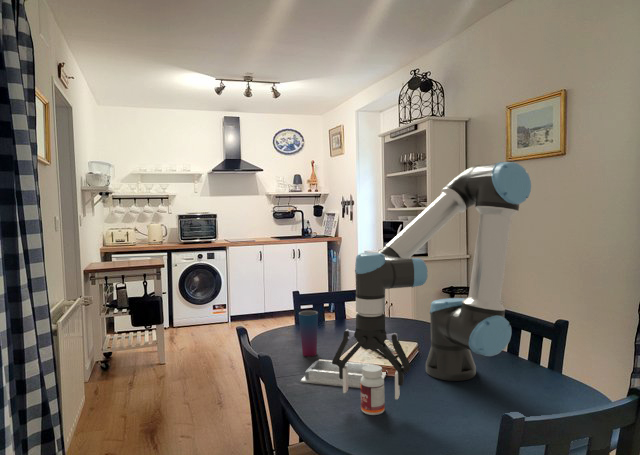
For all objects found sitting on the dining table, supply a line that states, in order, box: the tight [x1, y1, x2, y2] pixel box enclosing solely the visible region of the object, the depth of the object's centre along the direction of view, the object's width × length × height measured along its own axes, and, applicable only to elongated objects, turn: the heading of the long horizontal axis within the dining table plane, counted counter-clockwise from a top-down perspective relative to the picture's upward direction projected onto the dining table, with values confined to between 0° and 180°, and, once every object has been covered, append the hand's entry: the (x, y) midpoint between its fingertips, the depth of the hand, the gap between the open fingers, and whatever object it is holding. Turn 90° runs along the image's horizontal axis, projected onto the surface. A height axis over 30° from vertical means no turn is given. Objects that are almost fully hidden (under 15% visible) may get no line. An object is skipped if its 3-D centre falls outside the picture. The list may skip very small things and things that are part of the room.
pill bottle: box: [359, 364, 386, 416], centre depth 120 cm, size 6×6×11 cm
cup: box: [298, 310, 319, 357], centre depth 166 cm, size 7×7×15 cm
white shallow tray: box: [300, 358, 387, 389], centre depth 144 cm, size 24×14×3 cm, turn 72°
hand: (371, 394), depth 120 cm, fingers open, 13 cm apart
